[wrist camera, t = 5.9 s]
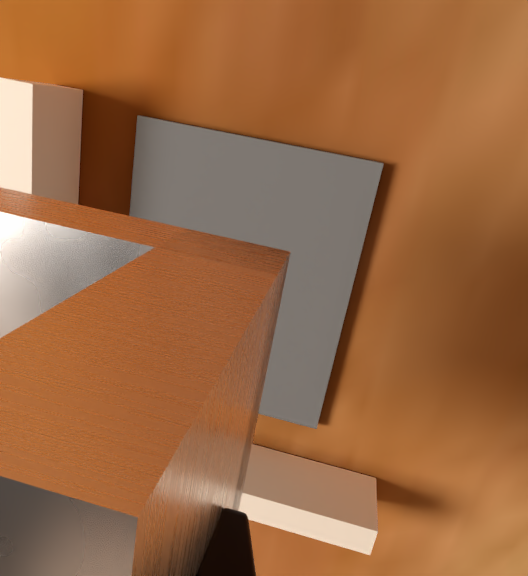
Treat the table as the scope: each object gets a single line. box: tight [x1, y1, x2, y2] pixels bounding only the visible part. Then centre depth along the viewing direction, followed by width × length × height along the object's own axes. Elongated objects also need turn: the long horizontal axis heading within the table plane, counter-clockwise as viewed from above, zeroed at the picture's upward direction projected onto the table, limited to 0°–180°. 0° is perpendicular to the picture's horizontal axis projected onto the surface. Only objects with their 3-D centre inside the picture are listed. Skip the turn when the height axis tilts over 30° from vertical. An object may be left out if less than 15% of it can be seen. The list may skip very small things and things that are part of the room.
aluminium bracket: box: [0, 187, 291, 576], centre depth 8 cm, size 8×6×6 cm
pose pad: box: [129, 115, 384, 429], centre depth 19 cm, size 9×11×1 cm
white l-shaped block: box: [0, 78, 378, 555], centre depth 19 cm, size 16×15×3 cm
